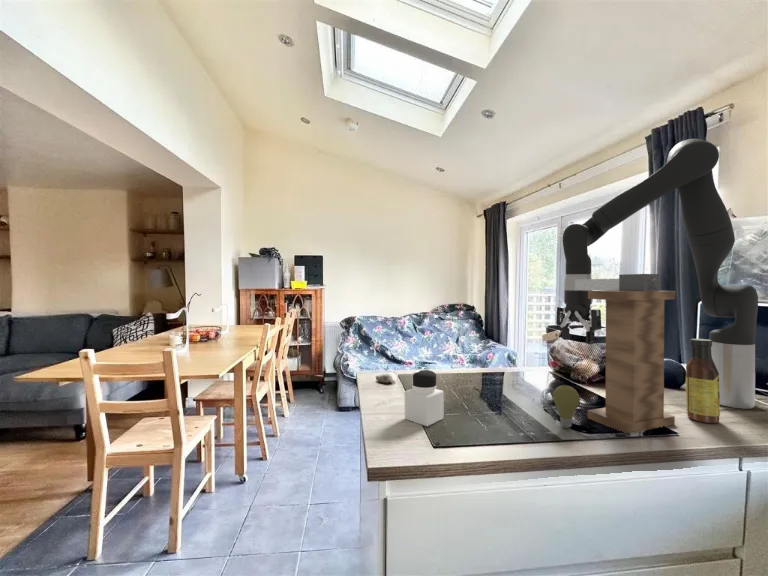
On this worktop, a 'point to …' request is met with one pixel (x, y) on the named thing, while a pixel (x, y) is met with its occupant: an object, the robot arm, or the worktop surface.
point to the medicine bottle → (424, 399)
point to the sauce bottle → (702, 384)
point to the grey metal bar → (621, 283)
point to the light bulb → (566, 403)
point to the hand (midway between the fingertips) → (577, 341)
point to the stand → (634, 360)
